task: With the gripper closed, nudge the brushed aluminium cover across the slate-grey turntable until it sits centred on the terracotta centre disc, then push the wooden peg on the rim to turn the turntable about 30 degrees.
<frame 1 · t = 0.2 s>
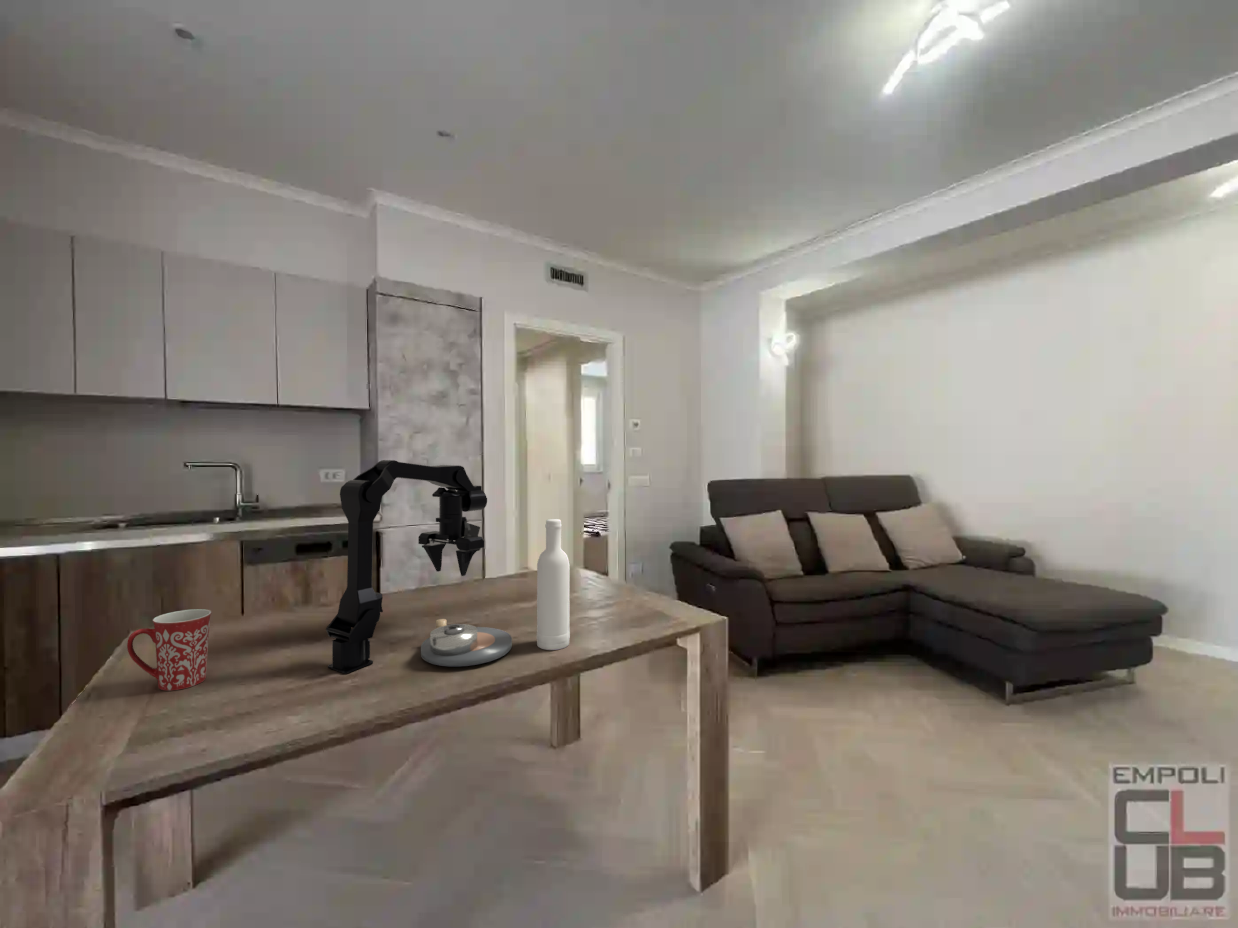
hand: (450, 573, 136), 14 cm above the table, tool pointing down, fingers open, 9 cm apart
mug: (171, 685, 103), on the table
bottle: (553, 645, 125), on the table
cover: (454, 646, 116), point 3 cm above the table, touching turntable
turntable: (467, 637, 120), point 3 cm above the table, hinge at 0.0°, touching cover
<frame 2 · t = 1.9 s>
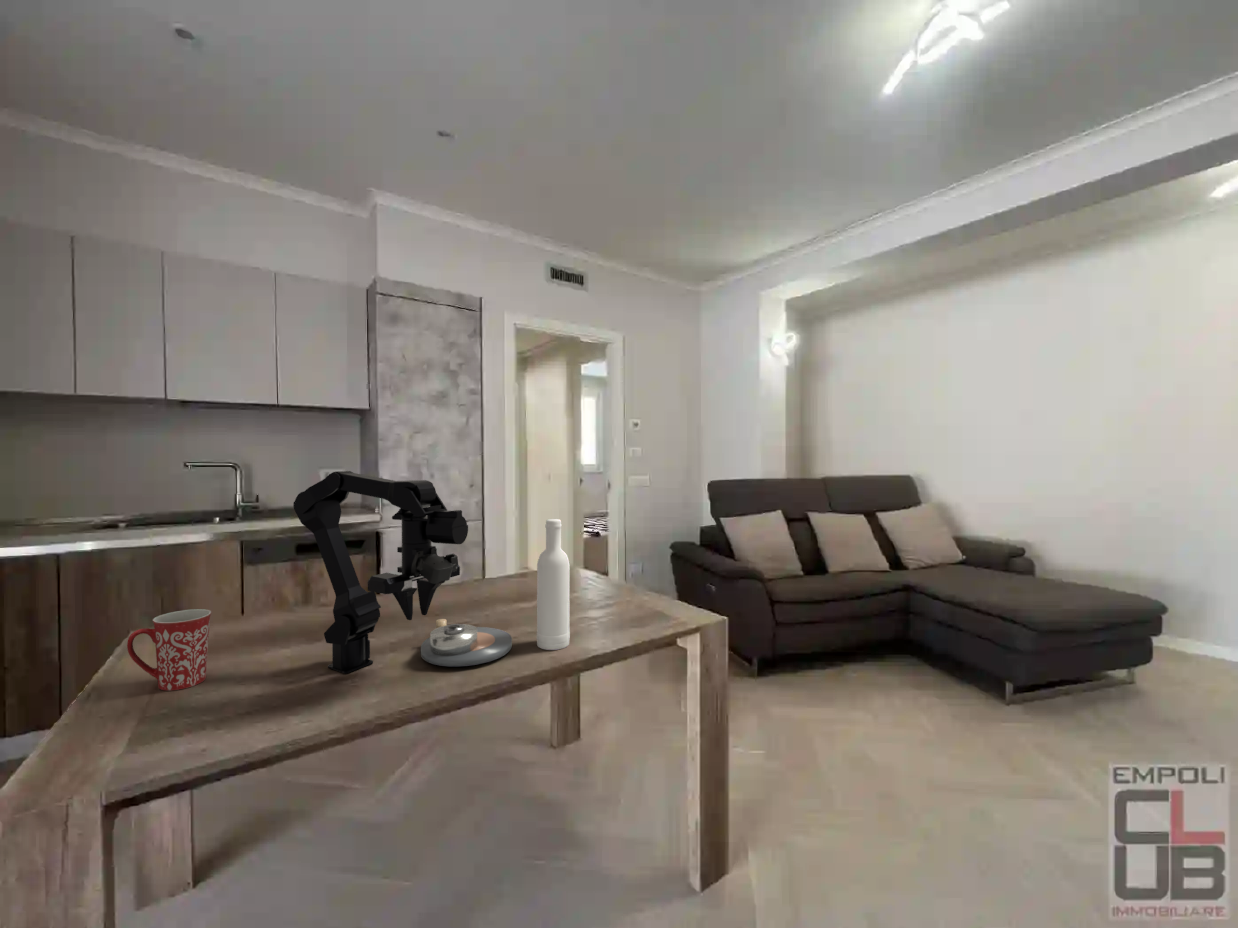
hand: (416, 617, 108), 12 cm above the table, tool pointing down, fingers open, 3 cm apart
nothing on the table moved.
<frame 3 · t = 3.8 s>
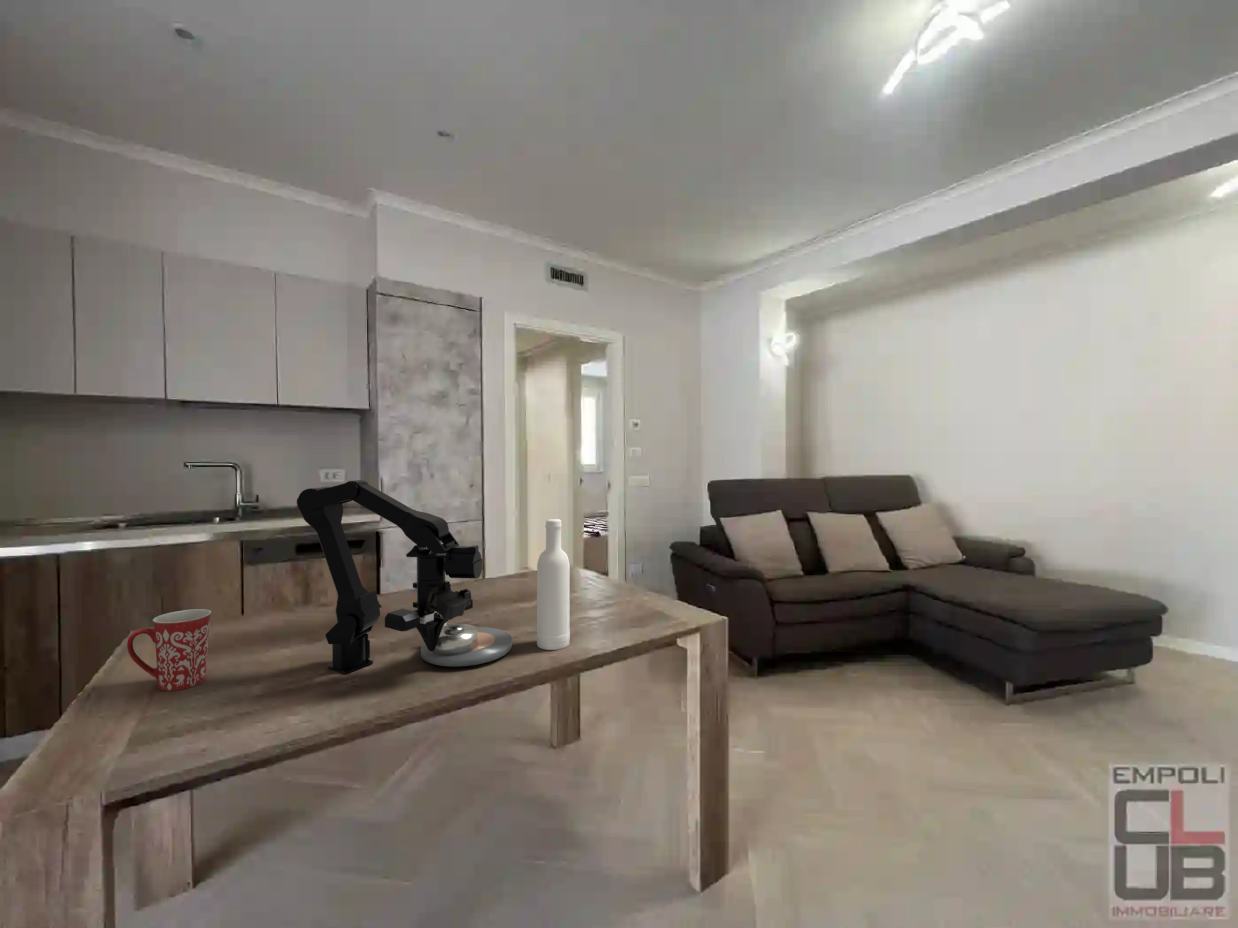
hand: (431, 650, 111), 4 cm above the table, tool pointing down, fingers closed
cover: (454, 646, 117), point 3 cm above the table, touching gripper, turntable
everything else where it was.
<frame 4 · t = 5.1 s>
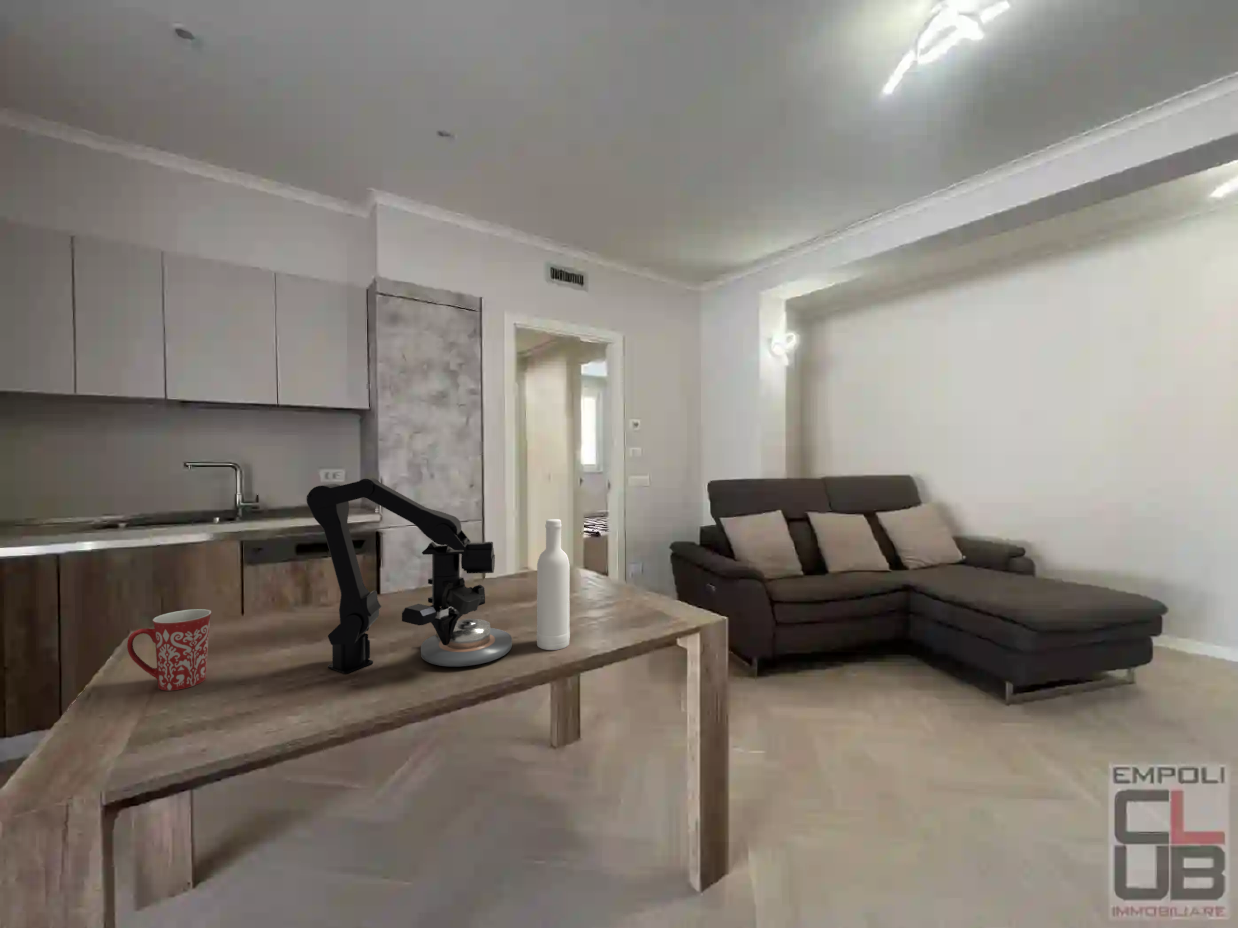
hand: (445, 644, 114), 4 cm above the table, tool pointing down, fingers closed
cover: (467, 641, 120), point 3 cm above the table, touching turntable
everything else where it was.
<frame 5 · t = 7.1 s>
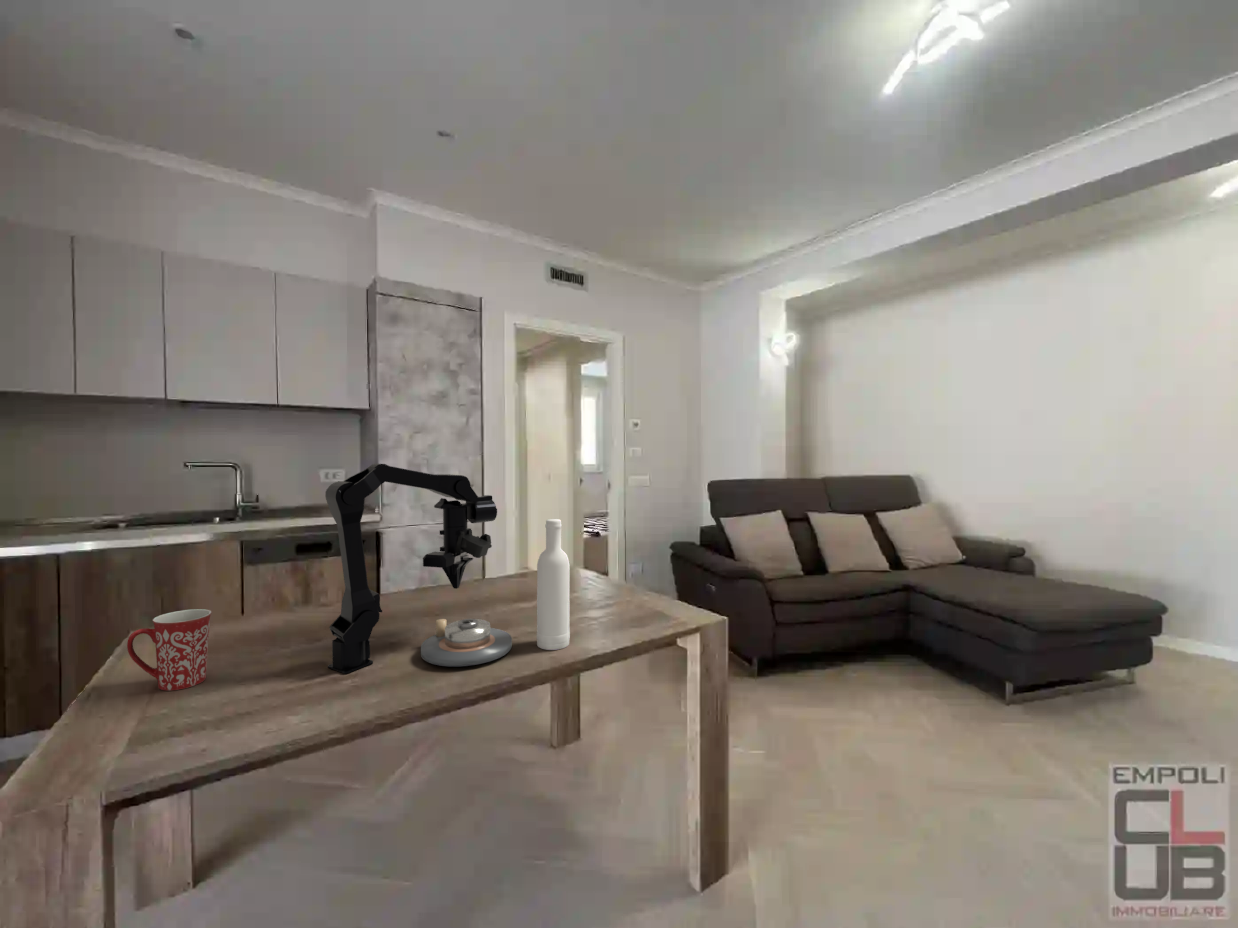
hand: (456, 588, 129), 12 cm above the table, tool pointing down, fingers closed
nothing on the table moved.
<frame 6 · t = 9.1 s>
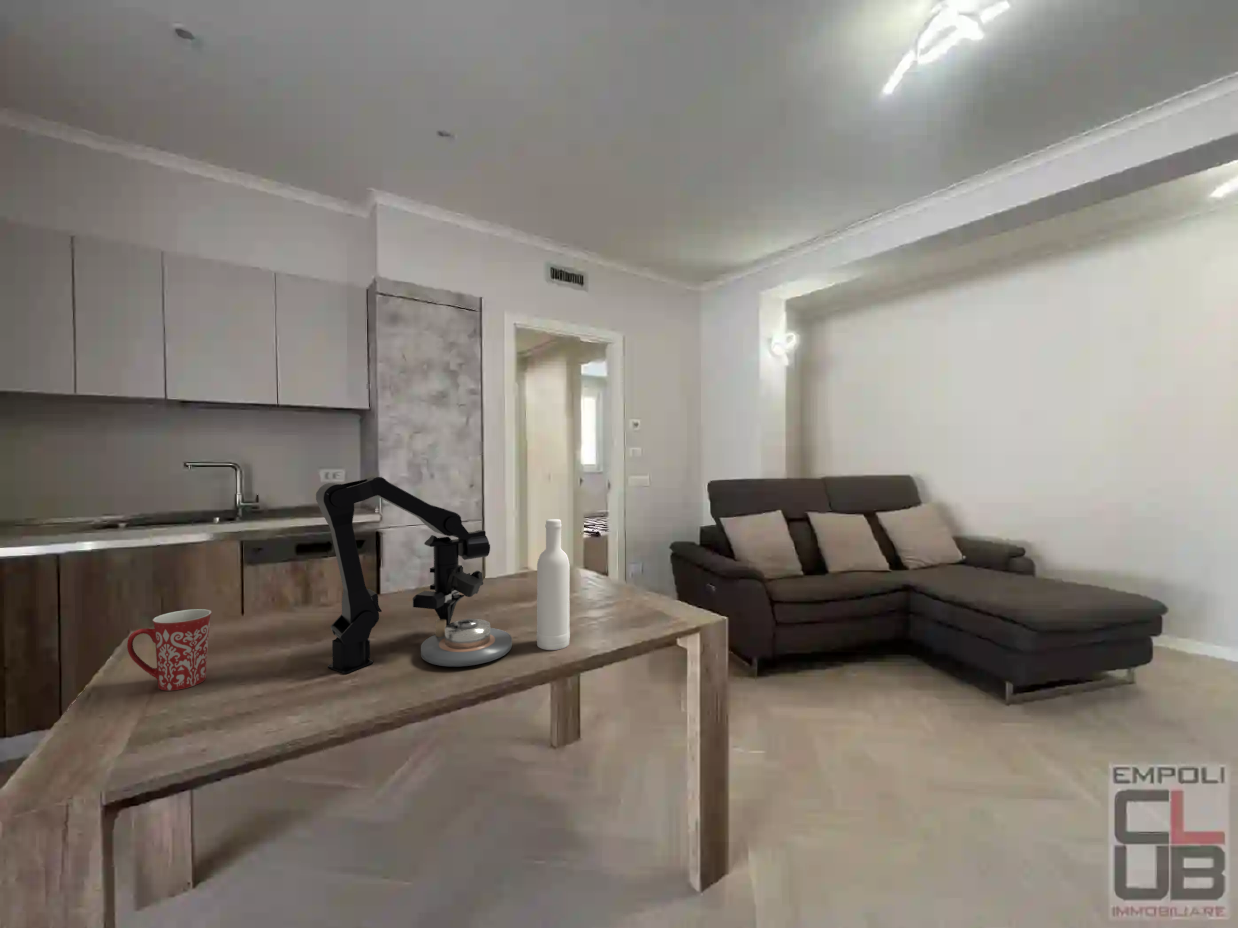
hand: (446, 626, 127), 4 cm above the table, tool pointing down, fingers closed
turntable: (467, 637, 120), point 3 cm above the table, hinge at 0.6°, touching cover, gripper
everything else where it was.
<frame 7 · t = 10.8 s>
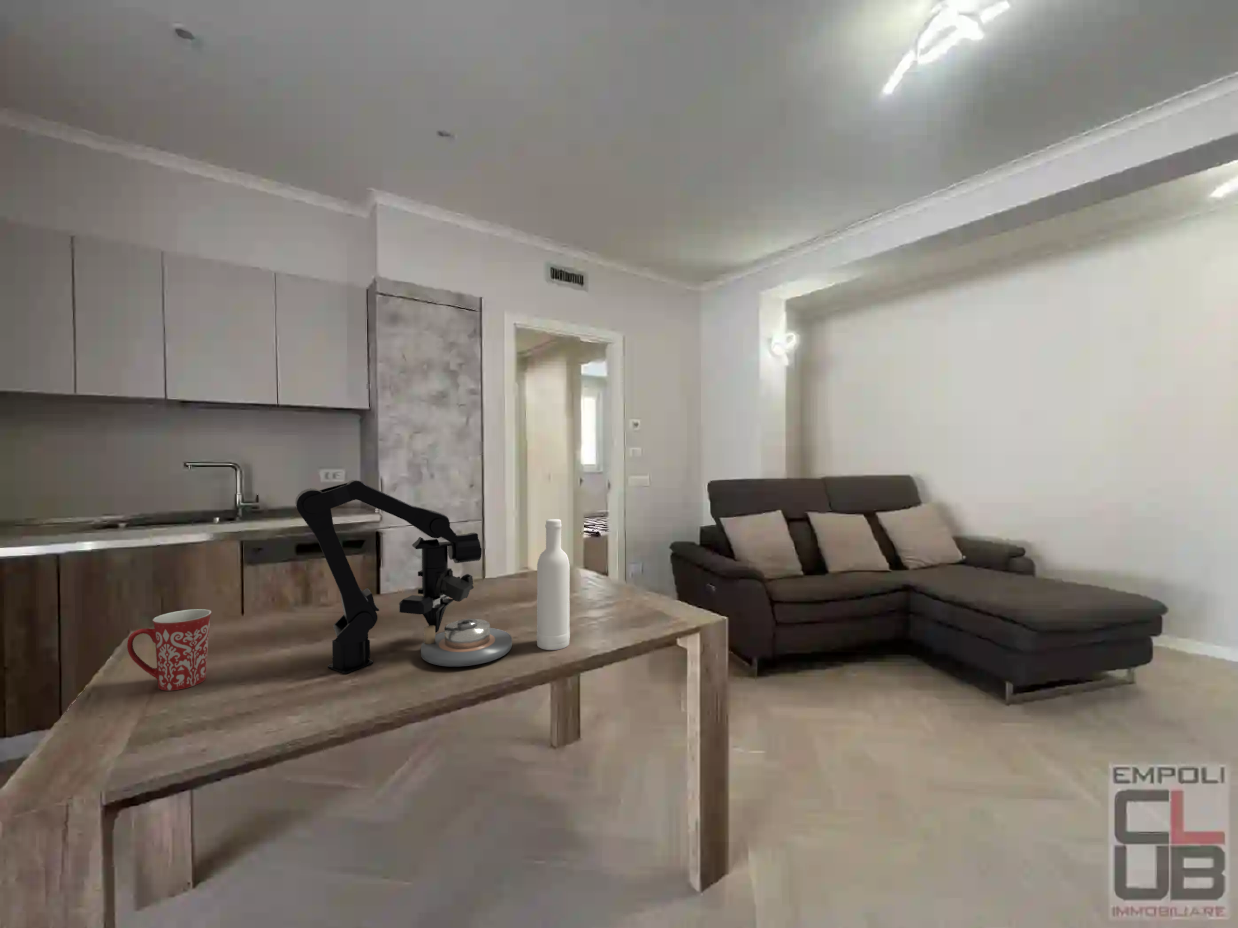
hand: (435, 631, 122), 4 cm above the table, tool pointing down, fingers closed
turntable: (467, 637, 120), point 3 cm above the table, hinge at 32.3°, touching cover, gripper
everything else where it was.
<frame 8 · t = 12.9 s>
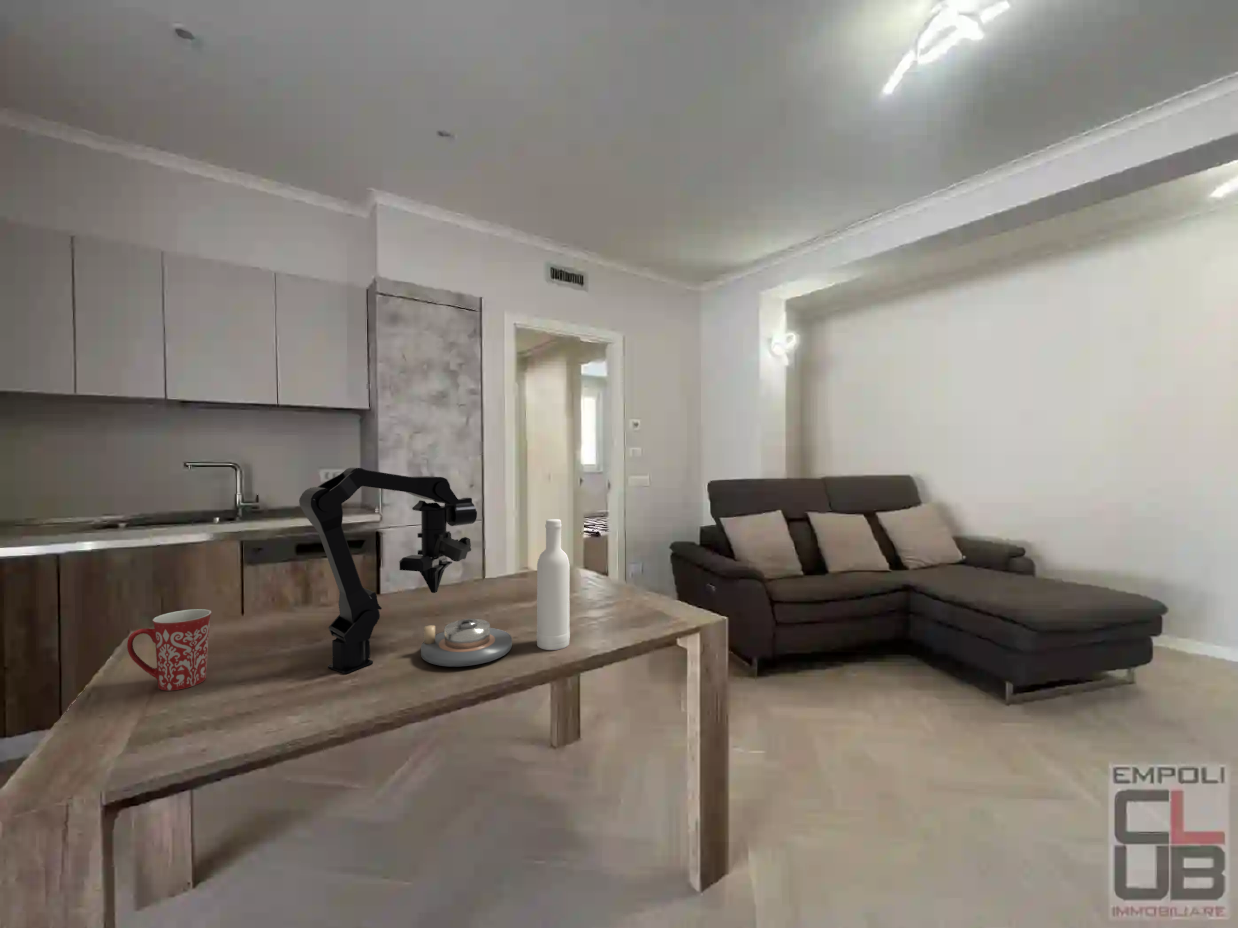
hand: (434, 592, 126), 12 cm above the table, tool pointing down, fingers closed
turntable: (467, 637, 120), point 3 cm above the table, hinge at 32.3°, touching cover
everything else where it was.
at the end: cover 0.2 cm from the turntable (horizontally); turntable at +32° (first picture: +0°); cover tilted 0° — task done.
